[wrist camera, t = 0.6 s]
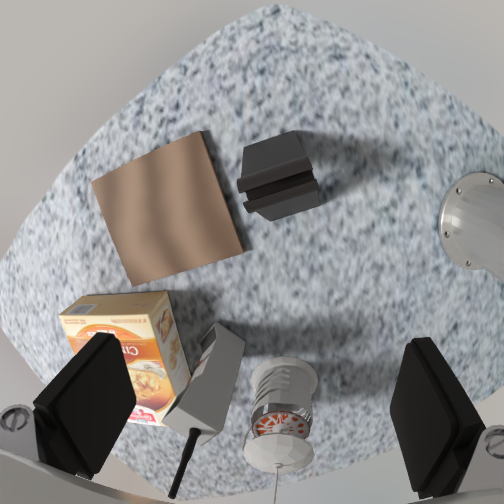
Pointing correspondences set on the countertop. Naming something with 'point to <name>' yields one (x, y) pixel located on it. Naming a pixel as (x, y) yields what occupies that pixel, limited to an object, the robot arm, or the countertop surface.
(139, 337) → the coffeecake box
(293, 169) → the phone stand
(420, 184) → the countertop surface
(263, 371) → the french press
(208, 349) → the vintage mobile phone
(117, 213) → the walnut board
